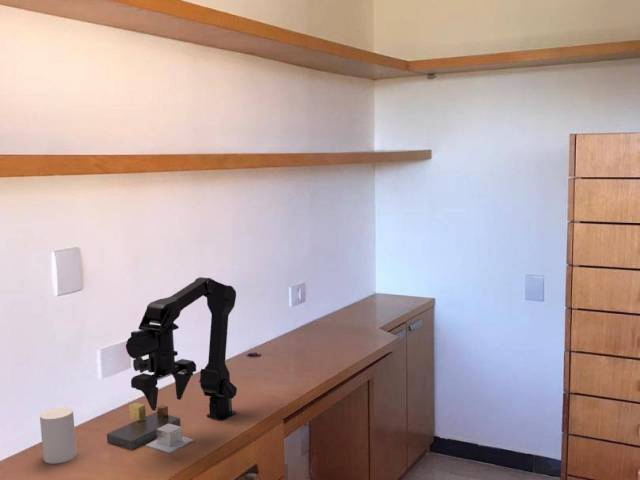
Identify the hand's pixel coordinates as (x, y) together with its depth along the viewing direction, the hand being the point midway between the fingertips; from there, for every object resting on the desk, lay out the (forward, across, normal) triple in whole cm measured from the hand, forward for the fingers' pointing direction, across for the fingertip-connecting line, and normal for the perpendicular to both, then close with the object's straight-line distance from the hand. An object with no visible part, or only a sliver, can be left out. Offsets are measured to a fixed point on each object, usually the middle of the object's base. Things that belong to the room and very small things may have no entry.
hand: (166, 404), depth 178 cm
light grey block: (+11, 0, 0) cm, 11 cm away
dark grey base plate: (+11, -1, -11) cm, 16 cm away
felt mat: (+11, 0, 0) cm, 11 cm away
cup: (+11, +20, -20) cm, 30 cm away
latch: (+8, -4, -16) cm, 19 cm away
